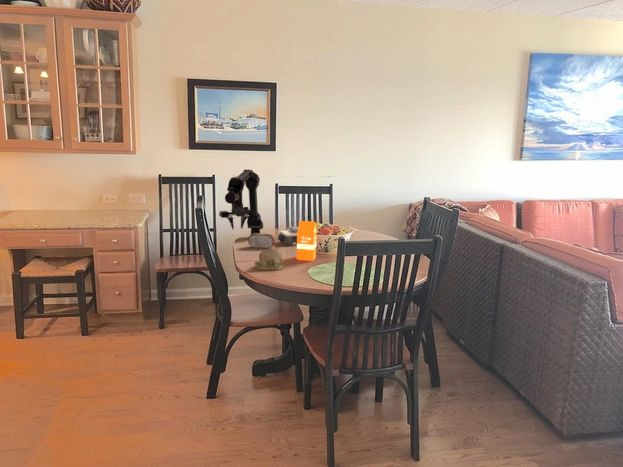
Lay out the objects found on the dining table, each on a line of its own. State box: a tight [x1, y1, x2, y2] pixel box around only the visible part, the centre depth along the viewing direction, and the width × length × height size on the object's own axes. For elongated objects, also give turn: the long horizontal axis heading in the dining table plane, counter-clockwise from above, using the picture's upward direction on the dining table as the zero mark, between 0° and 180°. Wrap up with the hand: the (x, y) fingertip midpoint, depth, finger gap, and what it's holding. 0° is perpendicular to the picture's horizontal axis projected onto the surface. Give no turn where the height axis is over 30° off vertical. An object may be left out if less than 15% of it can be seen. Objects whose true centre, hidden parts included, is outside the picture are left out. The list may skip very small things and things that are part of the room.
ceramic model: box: [254, 247, 285, 271], centre depth 227 cm, size 14×11×10 cm
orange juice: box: [296, 220, 317, 262], centre depth 244 cm, size 8×9×20 cm
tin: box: [247, 232, 276, 250], centre depth 264 cm, size 15×3×8 cm, turn 84°
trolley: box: [277, 226, 298, 247], centre depth 277 cm, size 10×13×9 cm
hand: (237, 228), depth 256 cm, fingers open, 5 cm apart
